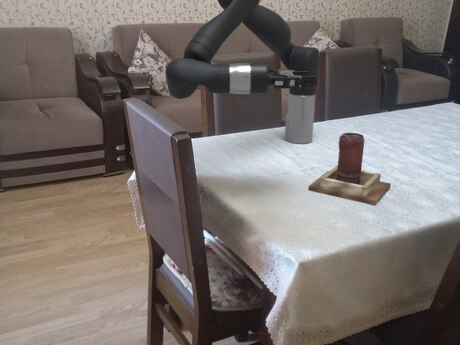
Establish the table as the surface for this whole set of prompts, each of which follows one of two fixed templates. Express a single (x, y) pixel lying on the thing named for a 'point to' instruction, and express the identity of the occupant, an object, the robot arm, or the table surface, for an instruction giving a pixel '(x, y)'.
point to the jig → (352, 187)
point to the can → (350, 157)
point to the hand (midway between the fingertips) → (313, 78)
